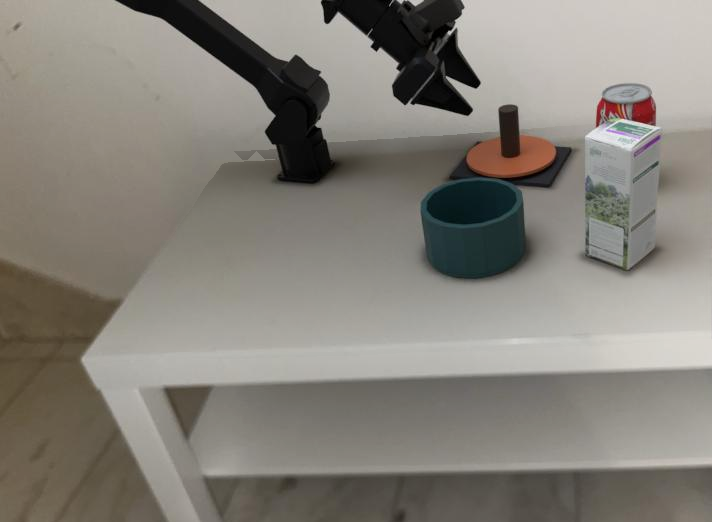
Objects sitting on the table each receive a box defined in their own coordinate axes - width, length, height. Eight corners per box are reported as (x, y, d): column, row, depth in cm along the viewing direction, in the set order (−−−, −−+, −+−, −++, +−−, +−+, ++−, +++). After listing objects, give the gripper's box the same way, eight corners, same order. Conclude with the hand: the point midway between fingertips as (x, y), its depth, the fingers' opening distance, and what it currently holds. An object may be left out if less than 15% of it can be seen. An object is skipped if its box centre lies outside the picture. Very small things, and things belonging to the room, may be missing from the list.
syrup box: (656, 248, 85) (665, 124, 76) (626, 273, 82) (631, 147, 73) (613, 233, 89) (616, 113, 80) (582, 257, 86) (582, 134, 77)
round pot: (412, 271, 88) (404, 221, 84) (449, 221, 96) (443, 173, 92) (506, 284, 83) (503, 232, 79) (537, 231, 91) (535, 181, 87)
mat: (449, 178, 105) (449, 175, 104) (477, 144, 112) (477, 141, 112) (549, 187, 99) (549, 183, 99) (571, 150, 107) (571, 147, 107)
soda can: (584, 188, 98) (584, 97, 91) (614, 166, 102) (617, 77, 94) (632, 202, 94) (636, 107, 87) (662, 179, 98) (669, 86, 90)
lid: (483, 190, 100) (479, 135, 95) (456, 154, 109) (450, 102, 105) (570, 168, 102) (570, 113, 97) (535, 135, 111) (534, 83, 107)
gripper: (405, -14, 84) (510, 80, 89) (432, -54, 99) (521, 29, 103) (349, 62, 91) (450, 145, 95) (382, 14, 105) (468, 89, 110)
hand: (475, 99), depth 101 cm, fingers open, 9 cm apart
